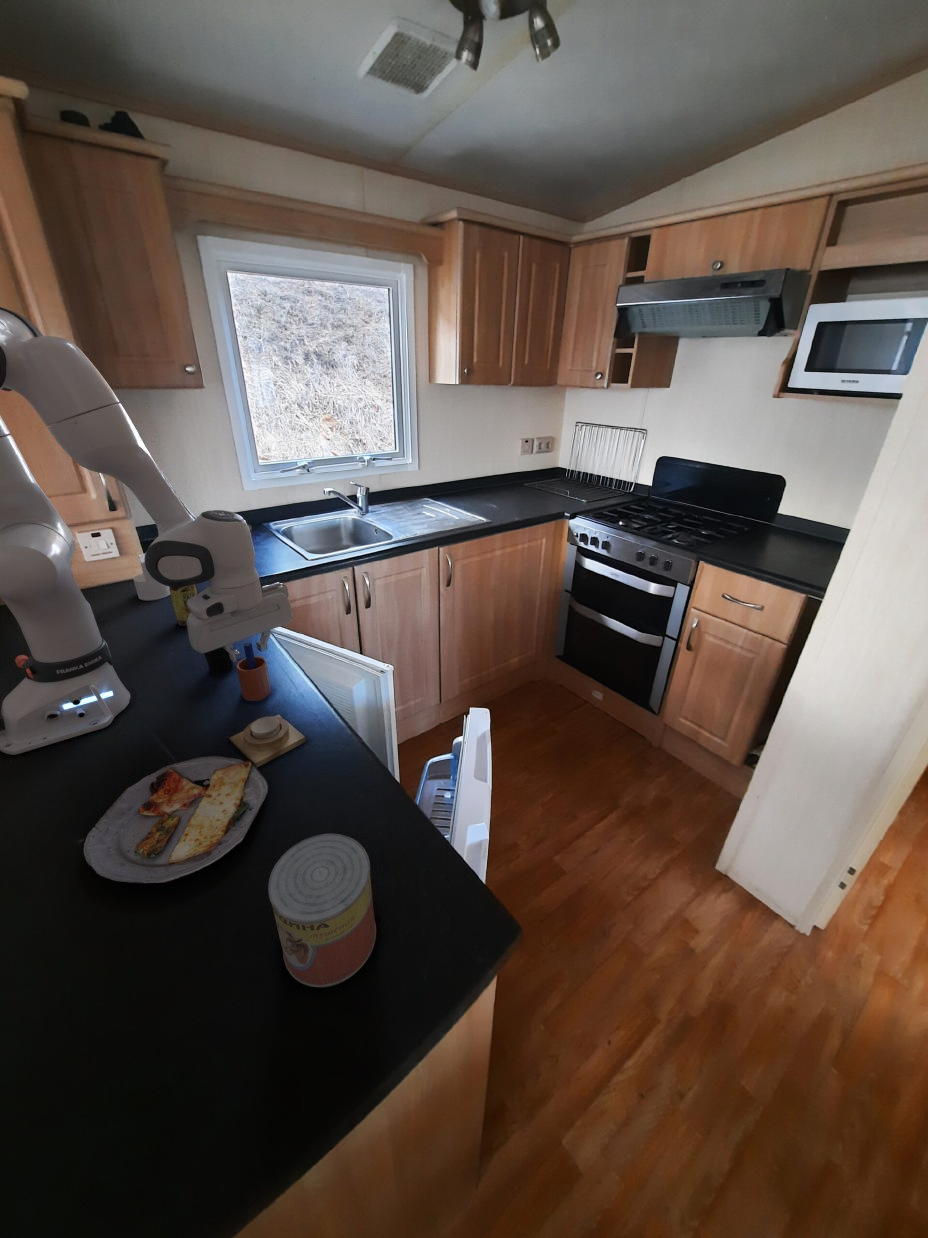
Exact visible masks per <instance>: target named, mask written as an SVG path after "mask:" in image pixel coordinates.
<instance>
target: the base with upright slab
mask: <svg viewBox="0 0 928 1238" xmlns="http://www.w3.org/2000/svg"><path fill="white" fill-rule="evenodd" d="M145 554H146V552H145V553H139V554H138V560H139V563H140V566H141V570H142V573H138V574H137V575H135V576H134V577H132V581H133V583H134V588H135V590H136V595H137V597H138V599H139V600H142V601H157V600H160V599H164V598H167V597H168V596H171V594H170V590H169V588H170V587H169V586H165V585H163V584H161V583H159V582H157V581H156V580H155V579H154V578H153V577H152V576H151V575H150V574H149V573H148V571H147V569H146V566H145V561H144V558H145Z"/></svg>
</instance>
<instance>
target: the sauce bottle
mask: <svg viewBox="0 0 928 1238" xmlns="http://www.w3.org/2000/svg"><path fill="white" fill-rule="evenodd" d="M169 590H170V598H171V603H172V608H173V611H174V617H175V619H176V622H177V625H179V626H181V627H187V619H188V616H189V615H190V613H191V611H190V610H189V609H188V607H187V601H188V600H189V599H190V598H192V597H194V596H195V595H197V594H198V591H197V587H196V584H194V585H190V586H185V587H170V588H169Z"/></svg>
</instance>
